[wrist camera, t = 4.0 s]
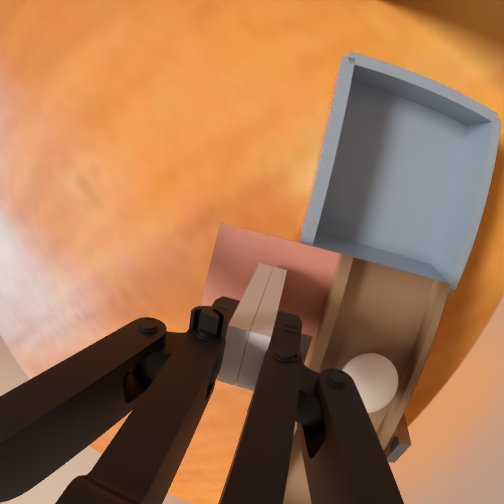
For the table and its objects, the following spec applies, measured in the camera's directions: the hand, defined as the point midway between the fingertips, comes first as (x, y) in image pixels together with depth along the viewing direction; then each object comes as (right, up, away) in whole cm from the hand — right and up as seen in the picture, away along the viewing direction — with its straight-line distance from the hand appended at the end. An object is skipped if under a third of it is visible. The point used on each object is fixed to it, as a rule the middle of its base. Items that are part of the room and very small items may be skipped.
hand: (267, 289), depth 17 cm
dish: (+10, +8, +3) cm, 13 cm away
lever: (+2, -10, +2) cm, 10 cm away
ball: (+6, -5, -2) cm, 8 cm away
